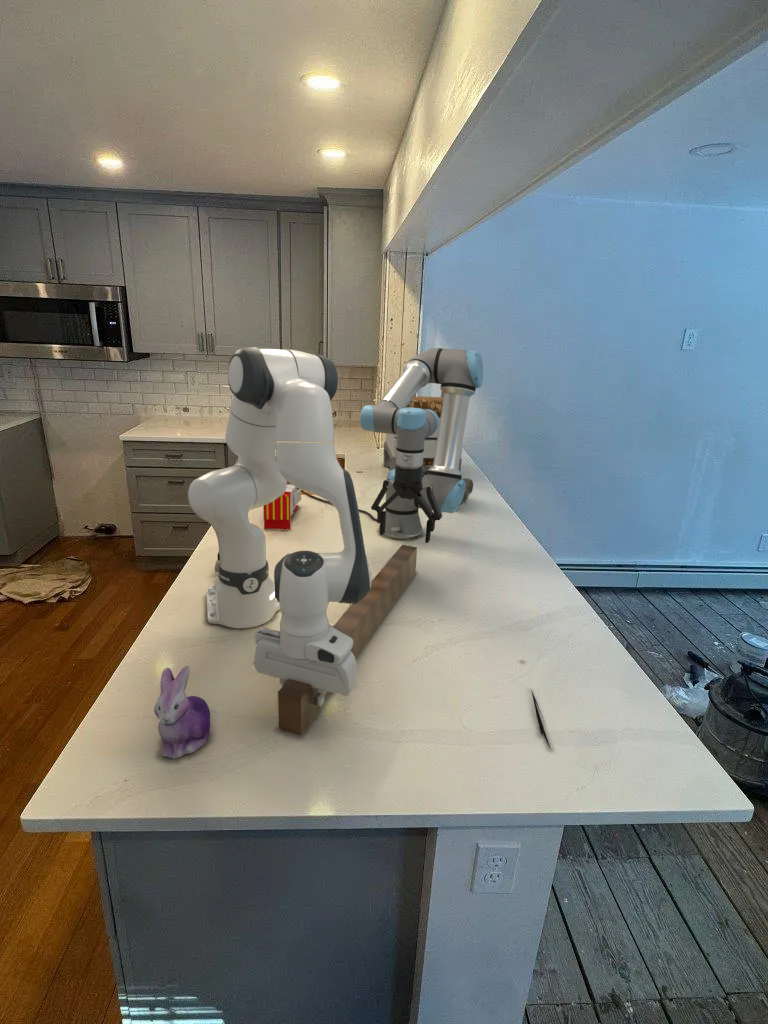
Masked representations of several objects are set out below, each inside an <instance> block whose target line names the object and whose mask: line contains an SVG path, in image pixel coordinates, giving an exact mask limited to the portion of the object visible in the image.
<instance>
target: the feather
mask: <svg viewBox="0 0 768 1024" xmlns="http://www.w3.org/2000/svg"><path fill="white" fill-rule="evenodd" d="M521 662H524V660H521ZM530 690H531V695H532V700H533V705H534V709H535V715H536V719H537V724H538V727H539V733H540V736H542V735H543V737H544V739H545V741H546V743H547V746H548V747H549V748H551V746H550V742H549V739H548V737H547V734H549V731H546V729H545V726H544V723H546V721H545V719H544V716H543V714H542V712H541V709H540V707H539V705H538V701H537V699H536V697H535V694H534V692H533V689H532V688H530ZM546 732H547V734H546Z"/></svg>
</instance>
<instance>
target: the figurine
mask: <svg viewBox="0 0 768 1024" xmlns="http://www.w3.org/2000/svg"><path fill="white" fill-rule="evenodd" d="M190 671H191V669H190V666H188V665H185V666H184V667H183V668H182V669H181V670H180V671H179V672H178V674H177V675H176V676H174V673H173V671H172V669H171V668H170V667H166V668H164V669H163V670H162V671H161V675H160V683H159V684H160V694H159V696H157V700H156V701H155V704H154V707H153V712H154V714H155V716H156V717H157V719H159V721H158V723H157V731H158V734H159V736H160V739H161V742H162V743H161V749H160V754H161V756H163V757H167V758H170V759H179V758H182V757H183V756H185V755H190V754H193V753H194V752H196V751H198V750H199V749H200V748H202V747H203V746H204V745H205V744H206V743H207V742H208V741H209V739H210V735H211V711H210V707H209V705H208V703H207V701H205V699H204V698H202V697H200V696H197V695H187V693H186V688H187V685H188V682H189V678H190V674H191V672H190Z"/></svg>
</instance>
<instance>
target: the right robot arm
mask: <svg viewBox="0 0 768 1024" xmlns="http://www.w3.org/2000/svg"><path fill="white" fill-rule="evenodd" d="M483 364H484V363H483V358H482V355H481V353H480V352H478V351H477V350H470V349H457V348H441V347H433V348H429V349H426V350H423V351H421V352H419V353H417V354H416V355H414V356H413V357H411V358H410V359H408V361H407V362H406V363H405V364H404V366H403V368H402V373H401V374H400V375H399V377H398V378H397V379H396V380H395V382H394V383H393V384H392V385H391V387H390V388H389V389H388V390H387V392H385V394H384V395H383V397H382V398H381V399H379V401H378V403H377V404H376V405H374V404H366V405H363V407H362V408H361V411H360V415H359V420H360V421H359V422H360V427H361V429H362V430H364V431H367V432H373V433H380V434H386V433H388V434H396V435H397V445H396V464H397V465H396V466H395V469H393V470H391V471H390V470H389V472H388V473H387V475H386V479H384V480H383V482H382V487H381V489H380V491H379V492H378V494H377V496H376V498H375V500H374V501H373V503H372V505H371V506H370V508H371V510H372V511H374V512H376V518H375V517H374V516H373V515H372V513H370V512H369V511H366V510H363V509H359V508H358V510H359V513H364V514H367V515H368V516H369V517H370V518H371V519H372V520H373V521H375V522H376V523H377V524H379V525H378V533H379V536H382V537H385V538H387V539H389V540H395V541H410V540H415V539H418V538H420V537H421V536H422V535H423V525H422V524H421V518H420V515H419V509H421V511H423V513H424V514H425V516H426V517H427V521H426V525H425V526H426V527H425V539H424V540H425V541H424V543H425V544H429V543H430V541H431V536H432V535H431V534H432V533H433V532H434V531H435V529H436V522H437V521H440V520H441V519H442V517H443V513H447V514H453V513H456V512H457V511H458V510H459V508H460V507H461V506H460V504H461V502H462V499H463V496H464V492H465V485H466V483H465V481H464V480H463V478H462V477H463V474H462V473H461V472H462V471H461V472H460V471H459V469H458V467H459V461H460V455H461V456H462V453H461V449H462V450H463V443H462V442H464V437H465V436H464V435H465V429H466V422H467V416H468V410H469V406H470V405H469V403H470V398H472V396H474V395H475V394H476V389H479V388H481V387H482V385H483V380H484V379H483V378H484V365H483ZM428 384H436V385H440V390H441V392H443V393H444V398H443V404H442V411H441V417H440V424H439V418H438V416H437V414H436V413H435V412H434V411H432V410H430V409H420V408H406V407H407V406H408V404H409V403H410V401H411V400H412V399H413V397H414V396H415V397H416V395H417V394H418V392H419V391H420V390H421V389H422V388H424V387H426V386H427V385H428ZM438 427H439V430H438V437H437V443H436V449H435V456H434V462H433V466H432V465H431V466H429V468H428V469H427V472H426V474H424V473H423V470H424V468H423V466H422V465H423V455H424V441H425V438H427V437H429V436H431V435H433V433H434V432H435V431H436V430H437V429H438ZM298 490H299V488H297V491H298ZM301 493H303V494H304V495H306V496H308V497H310V498H313V499H314V500H318V501H321V502H323V503H327V504H330V505H333V504H332V503H330V502H329V501H327V500H326V499H324V498H321V497H318V496H316V495H313V494H311V493H309V492H306V491H304V490H301ZM384 497H385V502H383V504H382V505H381V506H380V504H381V502H382V500H383V499H384ZM459 506H460V507H459Z"/></svg>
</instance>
